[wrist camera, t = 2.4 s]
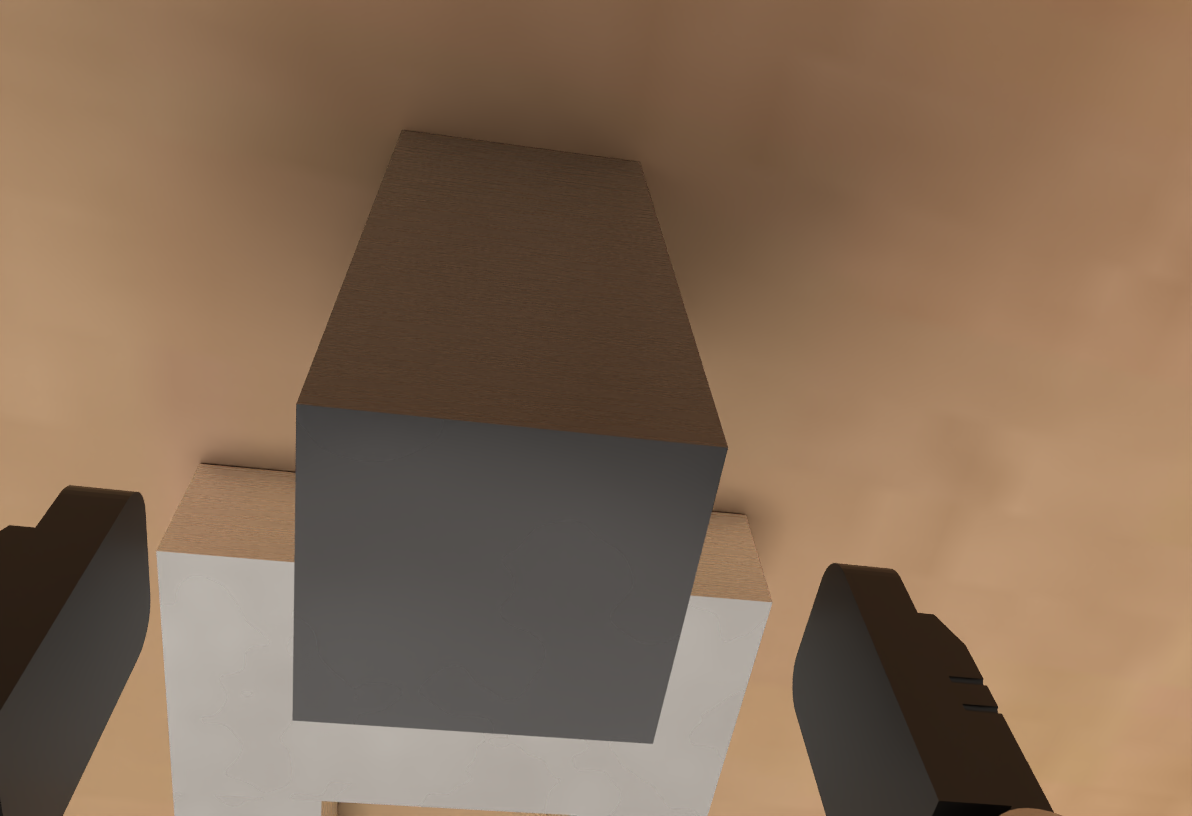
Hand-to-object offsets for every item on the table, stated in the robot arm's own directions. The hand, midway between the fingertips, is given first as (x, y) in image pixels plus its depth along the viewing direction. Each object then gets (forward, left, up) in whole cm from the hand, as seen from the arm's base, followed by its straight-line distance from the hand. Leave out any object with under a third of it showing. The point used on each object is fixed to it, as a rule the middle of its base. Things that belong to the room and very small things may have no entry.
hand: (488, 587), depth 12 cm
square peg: (0, 0, -9) cm, 9 cm away
